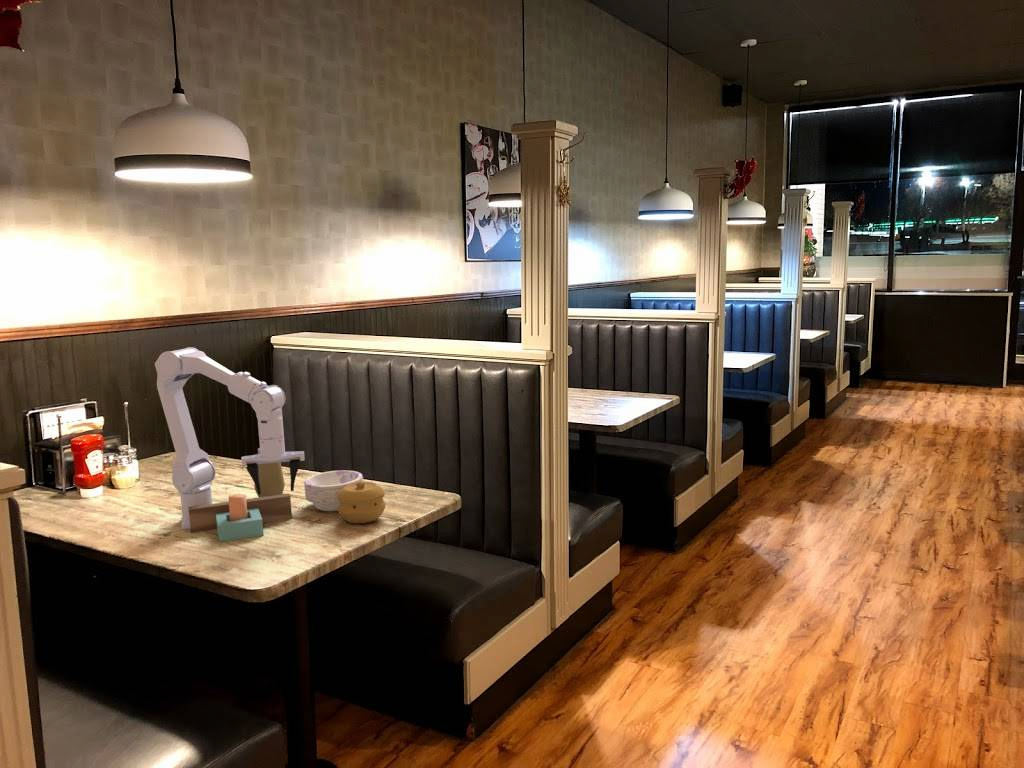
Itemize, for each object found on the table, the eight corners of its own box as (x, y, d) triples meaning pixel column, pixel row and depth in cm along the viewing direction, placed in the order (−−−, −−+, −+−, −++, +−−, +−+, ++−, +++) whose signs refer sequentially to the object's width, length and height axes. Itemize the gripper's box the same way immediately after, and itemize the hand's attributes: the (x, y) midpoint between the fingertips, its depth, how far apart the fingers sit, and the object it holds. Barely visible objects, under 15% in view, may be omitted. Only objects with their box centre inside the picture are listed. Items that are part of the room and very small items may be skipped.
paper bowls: (293, 511, 218) (291, 481, 217) (331, 495, 232) (329, 467, 230) (339, 518, 211) (337, 488, 210) (376, 501, 225) (374, 472, 223)
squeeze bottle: (249, 503, 227) (244, 438, 224) (265, 494, 235) (259, 431, 232) (276, 504, 225) (271, 438, 222) (291, 495, 233) (286, 432, 230)
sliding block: (217, 529, 205) (215, 513, 205) (259, 523, 209) (258, 507, 208) (219, 542, 196) (217, 525, 195) (263, 535, 200) (262, 519, 199)
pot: (365, 510, 217) (362, 472, 216) (396, 518, 210) (394, 479, 208) (329, 522, 209) (326, 483, 207) (360, 531, 201) (357, 491, 200)
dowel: (233, 526, 204) (231, 494, 203) (250, 525, 204) (247, 493, 203) (228, 531, 200) (226, 499, 199) (245, 530, 200) (243, 498, 199)
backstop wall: (190, 530, 206) (188, 507, 205) (290, 516, 214) (289, 493, 213) (191, 533, 203) (188, 509, 202) (292, 518, 212) (290, 495, 211)
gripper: (302, 431, 207) (306, 484, 209) (241, 436, 203) (245, 490, 205) (302, 437, 200) (306, 492, 202) (239, 442, 196) (243, 498, 199)
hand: (276, 491), depth 203 cm, fingers open, 7 cm apart
